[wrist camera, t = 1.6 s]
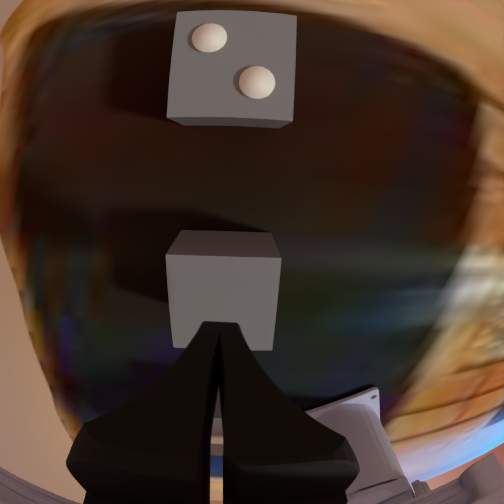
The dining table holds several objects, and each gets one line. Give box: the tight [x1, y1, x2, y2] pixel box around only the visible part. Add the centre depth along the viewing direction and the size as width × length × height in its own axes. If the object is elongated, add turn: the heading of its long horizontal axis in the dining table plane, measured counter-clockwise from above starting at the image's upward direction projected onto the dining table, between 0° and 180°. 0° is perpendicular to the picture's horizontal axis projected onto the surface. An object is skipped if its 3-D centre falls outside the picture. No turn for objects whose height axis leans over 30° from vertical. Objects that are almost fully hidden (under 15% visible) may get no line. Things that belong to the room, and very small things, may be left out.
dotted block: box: [167, 10, 297, 128], centre depth 12 cm, size 5×5×4 cm
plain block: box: [166, 230, 281, 350], centre depth 15 cm, size 5×5×4 cm
